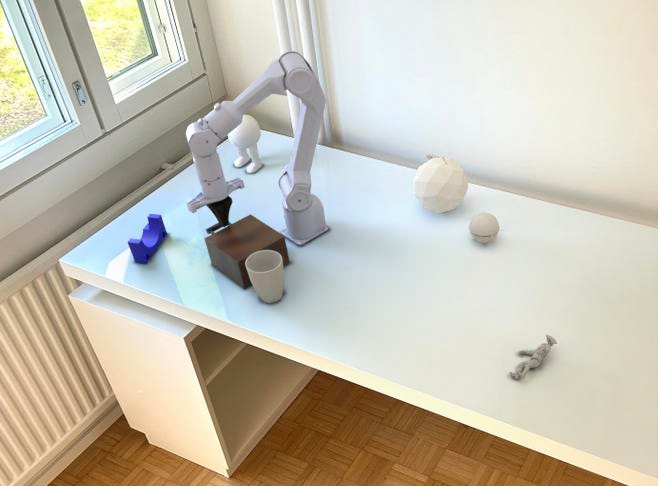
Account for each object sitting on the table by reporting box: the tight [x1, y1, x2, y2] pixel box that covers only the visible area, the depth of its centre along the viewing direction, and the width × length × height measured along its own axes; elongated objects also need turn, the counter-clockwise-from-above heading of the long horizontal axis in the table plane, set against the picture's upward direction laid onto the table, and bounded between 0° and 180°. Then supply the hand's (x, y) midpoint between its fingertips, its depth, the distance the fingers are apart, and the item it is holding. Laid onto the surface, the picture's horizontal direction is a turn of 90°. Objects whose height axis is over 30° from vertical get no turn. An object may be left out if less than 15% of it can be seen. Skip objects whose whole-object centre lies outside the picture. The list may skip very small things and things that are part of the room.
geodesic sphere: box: [412, 154, 469, 214], centre depth 187 cm, size 15×14×14 cm
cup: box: [245, 250, 285, 304], centre depth 166 cm, size 8×8×10 cm
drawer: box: [205, 217, 244, 235], centre depth 177 cm, size 17×12×6 cm
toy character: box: [226, 113, 263, 174], centre depth 205 cm, size 9×9×15 cm
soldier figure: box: [509, 334, 558, 380], centre depth 150 cm, size 8×5×12 cm
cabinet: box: [204, 214, 290, 290], centre depth 175 cm, size 13×13×8 cm
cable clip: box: [127, 213, 168, 264], centre depth 182 cm, size 12×4×6 cm, turn 168°
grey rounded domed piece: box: [468, 211, 503, 244], centre depth 179 cm, size 10×7×7 cm
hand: (224, 224), depth 177 cm, fingers closed
